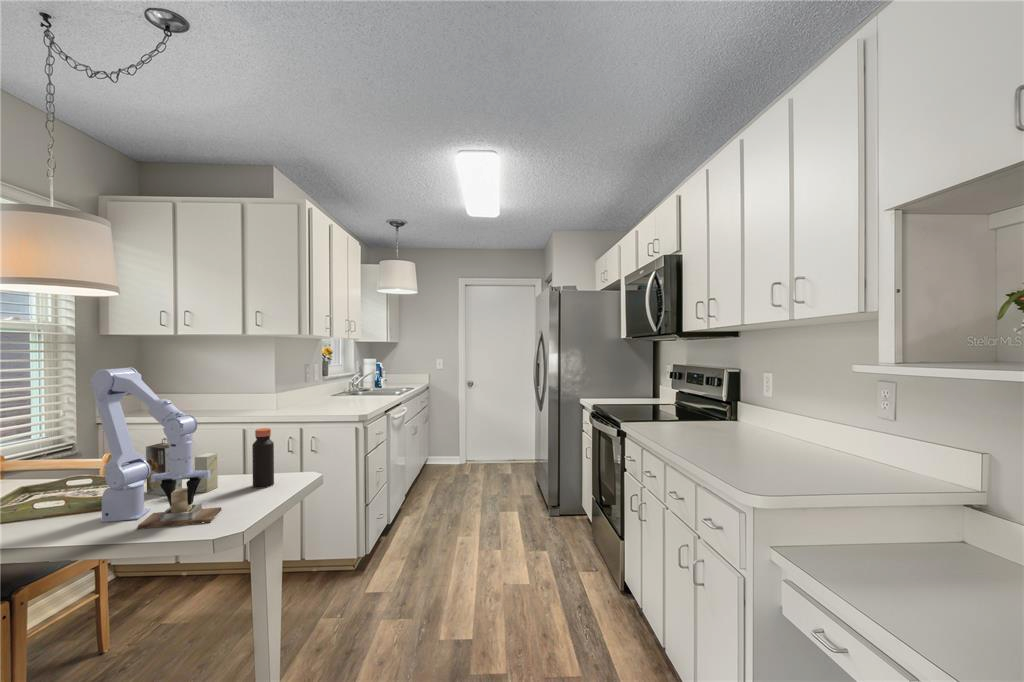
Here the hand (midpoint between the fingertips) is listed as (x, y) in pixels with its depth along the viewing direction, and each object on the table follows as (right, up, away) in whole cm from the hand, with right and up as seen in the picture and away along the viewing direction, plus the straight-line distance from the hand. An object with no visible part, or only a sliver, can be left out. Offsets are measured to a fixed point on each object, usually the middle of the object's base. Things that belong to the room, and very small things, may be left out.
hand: (181, 504), depth 145 cm
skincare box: (-10, -4, +27) cm, 29 cm away
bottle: (+8, -4, +32) cm, 33 cm away
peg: (0, -2, 0) cm, 2 cm away
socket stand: (0, -4, 0) cm, 4 cm away
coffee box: (-22, -4, +25) cm, 34 cm away
